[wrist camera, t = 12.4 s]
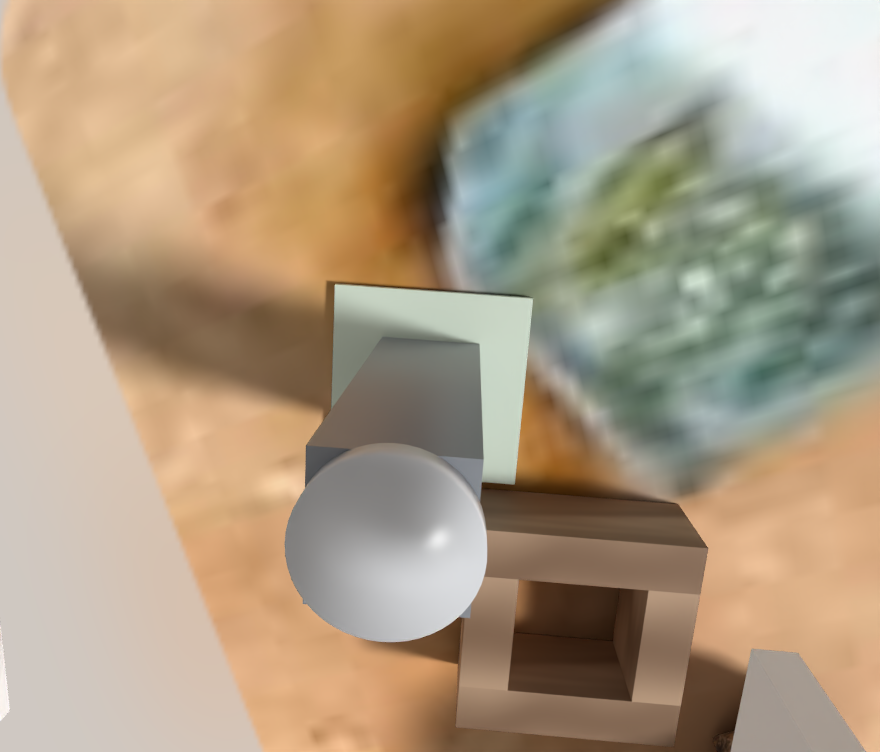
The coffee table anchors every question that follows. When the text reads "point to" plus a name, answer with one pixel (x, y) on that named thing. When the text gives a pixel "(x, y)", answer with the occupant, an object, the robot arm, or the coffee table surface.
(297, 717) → the coffee table surface
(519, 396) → the mat
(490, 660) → the brown square frame
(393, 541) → the plug
